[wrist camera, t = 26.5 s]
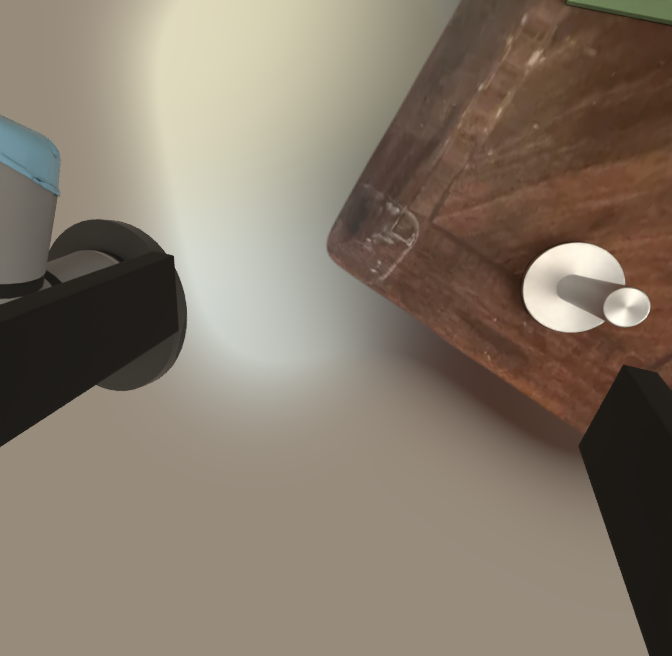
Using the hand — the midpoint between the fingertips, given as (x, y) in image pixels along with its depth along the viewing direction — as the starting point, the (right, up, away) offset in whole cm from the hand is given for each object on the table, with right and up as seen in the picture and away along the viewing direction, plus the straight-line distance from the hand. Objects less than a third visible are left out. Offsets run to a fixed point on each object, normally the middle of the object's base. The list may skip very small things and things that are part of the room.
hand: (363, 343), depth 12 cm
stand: (+20, +4, +24) cm, 32 cm away
